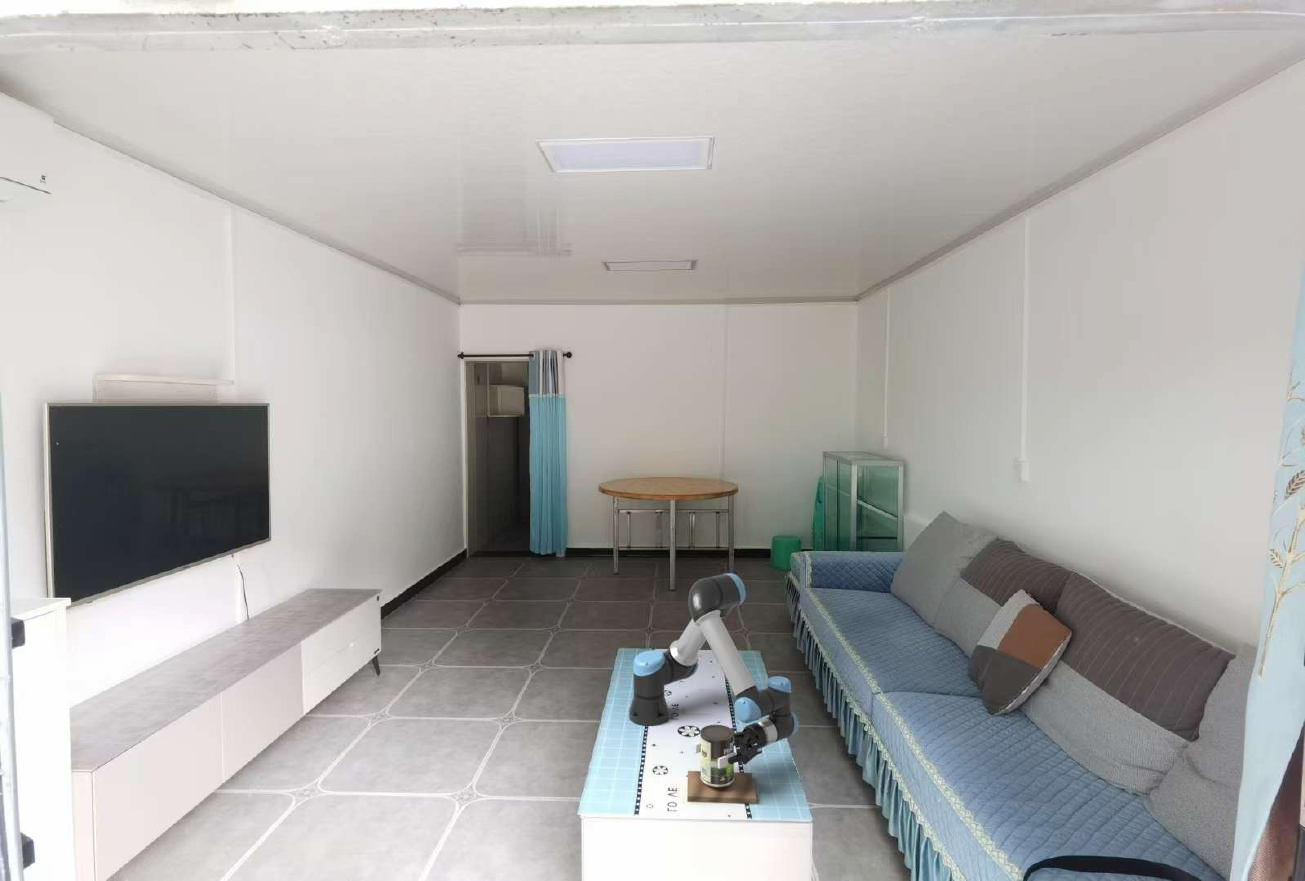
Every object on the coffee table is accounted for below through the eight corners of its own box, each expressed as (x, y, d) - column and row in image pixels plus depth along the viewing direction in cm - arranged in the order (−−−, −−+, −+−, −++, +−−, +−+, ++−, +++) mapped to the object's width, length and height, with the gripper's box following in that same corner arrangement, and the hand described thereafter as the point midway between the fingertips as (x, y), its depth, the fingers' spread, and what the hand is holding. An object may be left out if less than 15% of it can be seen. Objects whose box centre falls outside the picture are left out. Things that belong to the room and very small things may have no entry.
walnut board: (687, 801, 190) (687, 796, 190) (687, 775, 204) (687, 770, 204) (756, 803, 189) (756, 798, 189) (752, 777, 203) (752, 772, 203)
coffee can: (739, 774, 199) (739, 729, 198) (725, 791, 190) (725, 743, 190) (709, 765, 204) (709, 721, 204) (694, 780, 196) (694, 734, 195)
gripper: (786, 761, 199) (732, 785, 185) (734, 732, 217) (682, 753, 204) (786, 736, 198) (732, 759, 185) (734, 710, 217) (682, 729, 203)
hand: (706, 756), depth 194 cm, fingers closed on coffee can, 10 cm apart
